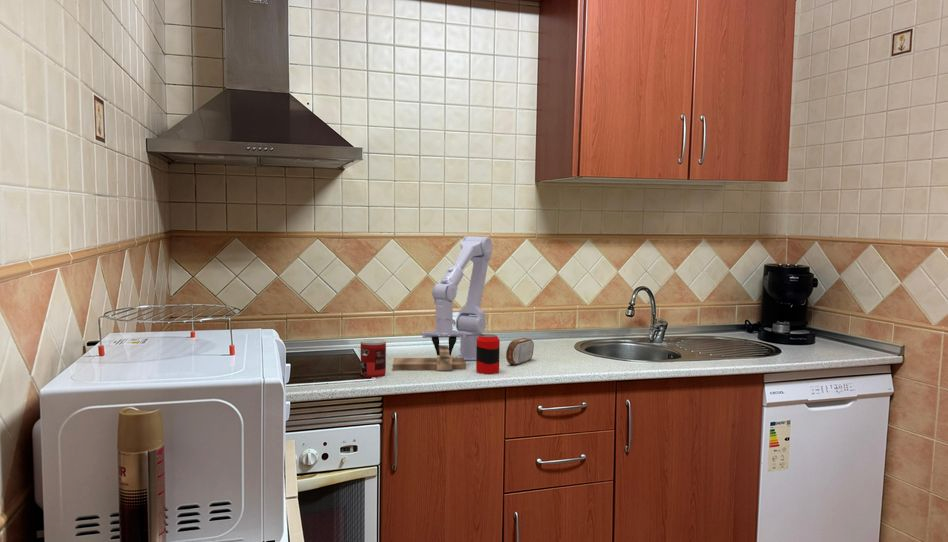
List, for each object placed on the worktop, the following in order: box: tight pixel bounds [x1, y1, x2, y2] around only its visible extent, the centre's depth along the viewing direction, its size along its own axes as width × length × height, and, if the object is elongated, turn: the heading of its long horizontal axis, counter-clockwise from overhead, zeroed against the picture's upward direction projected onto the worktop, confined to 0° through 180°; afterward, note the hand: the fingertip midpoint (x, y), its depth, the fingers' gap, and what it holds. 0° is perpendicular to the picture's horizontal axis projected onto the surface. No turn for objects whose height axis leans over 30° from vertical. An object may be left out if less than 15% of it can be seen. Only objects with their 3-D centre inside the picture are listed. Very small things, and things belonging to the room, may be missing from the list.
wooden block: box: [436, 344, 453, 371], centre depth 216 cm, size 5×12×6 cm, turn 5°
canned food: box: [360, 338, 387, 378], centre depth 205 cm, size 8×8×11 cm
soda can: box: [475, 333, 501, 375], centre depth 211 cm, size 8×8×12 cm
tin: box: [505, 337, 535, 366], centre depth 225 cm, size 15×3×8 cm, turn 145°
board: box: [392, 357, 467, 371], centre depth 217 cm, size 24×10×2 cm, turn 95°
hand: (443, 358), depth 218 cm, fingers closed on wooden block, 3 cm apart
